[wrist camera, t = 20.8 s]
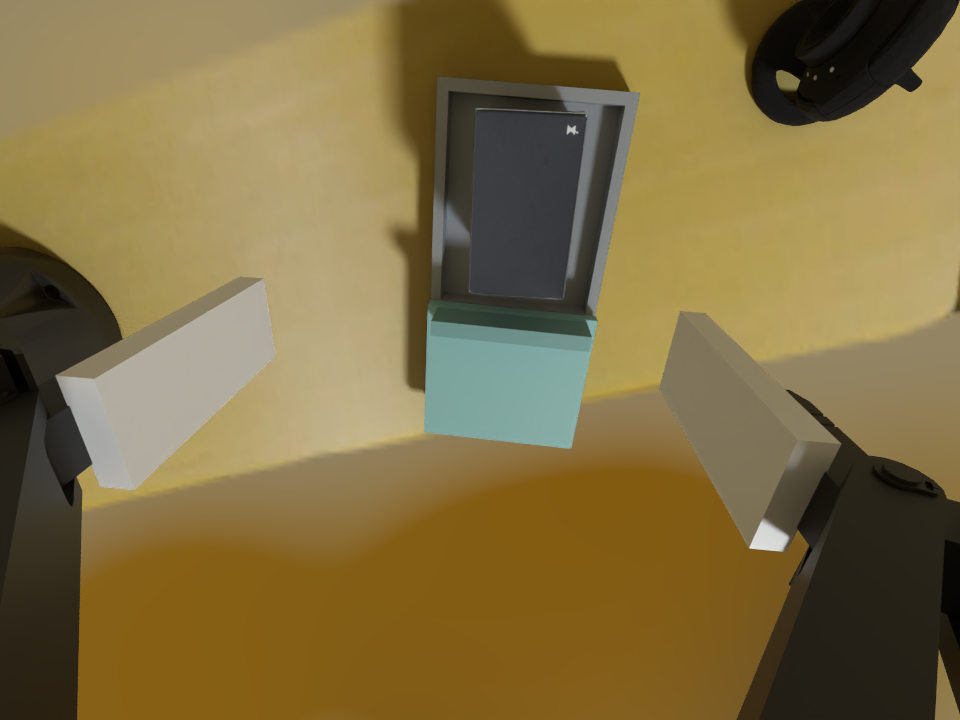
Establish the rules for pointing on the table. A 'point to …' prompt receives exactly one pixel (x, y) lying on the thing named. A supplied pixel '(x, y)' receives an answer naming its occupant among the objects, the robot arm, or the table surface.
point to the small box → (524, 200)
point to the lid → (505, 372)
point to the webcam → (844, 54)
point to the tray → (596, 190)
